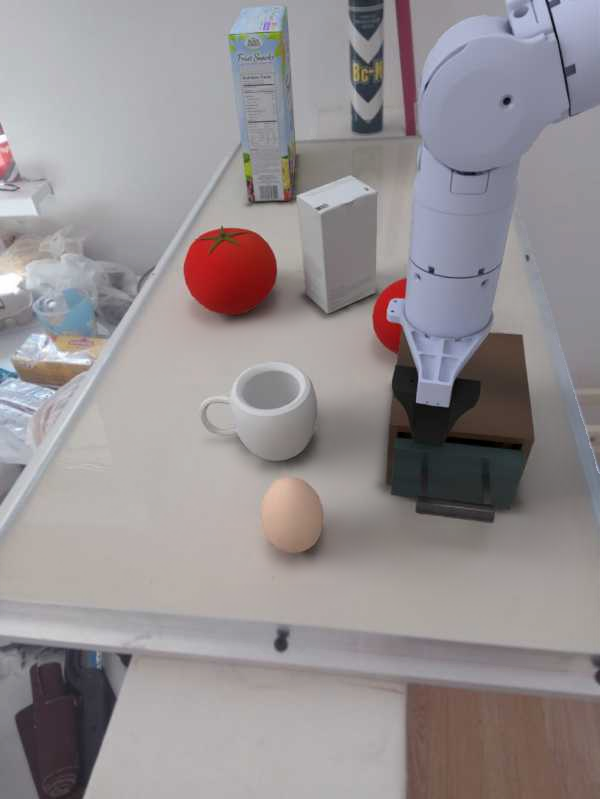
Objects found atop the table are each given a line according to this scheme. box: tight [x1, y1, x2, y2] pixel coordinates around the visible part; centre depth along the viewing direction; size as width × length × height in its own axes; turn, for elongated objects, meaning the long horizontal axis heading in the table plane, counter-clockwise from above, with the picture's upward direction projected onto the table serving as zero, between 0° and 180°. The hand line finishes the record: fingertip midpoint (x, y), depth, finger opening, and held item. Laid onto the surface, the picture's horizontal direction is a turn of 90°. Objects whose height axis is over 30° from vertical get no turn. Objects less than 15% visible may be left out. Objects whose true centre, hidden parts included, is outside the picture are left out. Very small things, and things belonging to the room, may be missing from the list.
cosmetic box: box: [296, 174, 379, 315], centre depth 69 cm, size 8×6×15 cm
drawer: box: [390, 432, 527, 524], centre depth 49 cm, size 17×10×7 cm, turn 168°
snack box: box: [227, 4, 297, 203], centre depth 95 cm, size 22×9×26 cm, turn 179°
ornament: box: [371, 277, 407, 355], centre depth 62 cm, size 9×9×10 cm
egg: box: [260, 476, 325, 554], centre depth 45 cm, size 5×5×8 cm
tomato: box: [182, 225, 278, 316], centre depth 72 cm, size 11×12×10 cm
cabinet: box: [385, 327, 536, 501], centre depth 52 cm, size 14×12×9 cm
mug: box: [198, 361, 318, 462], centre depth 54 cm, size 12×8×8 cm
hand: (433, 406), depth 43 cm, fingers open, 7 cm apart
